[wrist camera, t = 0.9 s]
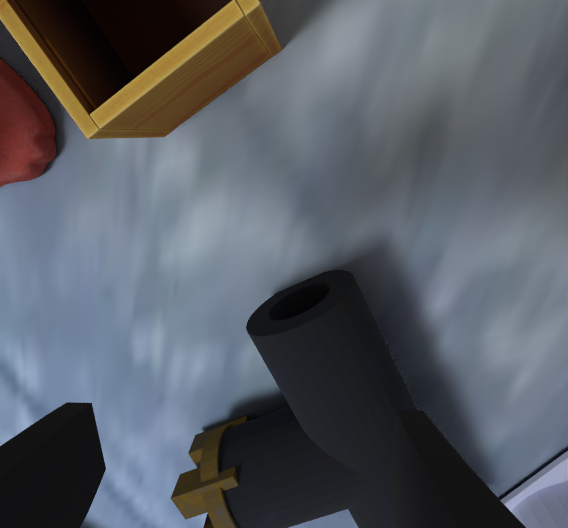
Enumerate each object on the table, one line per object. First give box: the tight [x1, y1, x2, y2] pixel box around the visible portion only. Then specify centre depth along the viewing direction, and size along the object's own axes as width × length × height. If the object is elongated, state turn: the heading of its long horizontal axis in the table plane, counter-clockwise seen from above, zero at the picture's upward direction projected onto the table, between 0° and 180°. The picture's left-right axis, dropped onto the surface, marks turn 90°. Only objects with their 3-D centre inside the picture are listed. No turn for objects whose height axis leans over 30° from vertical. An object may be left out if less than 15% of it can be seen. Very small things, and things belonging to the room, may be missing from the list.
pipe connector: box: [171, 270, 417, 528], centre depth 19 cm, size 12×5×15 cm
